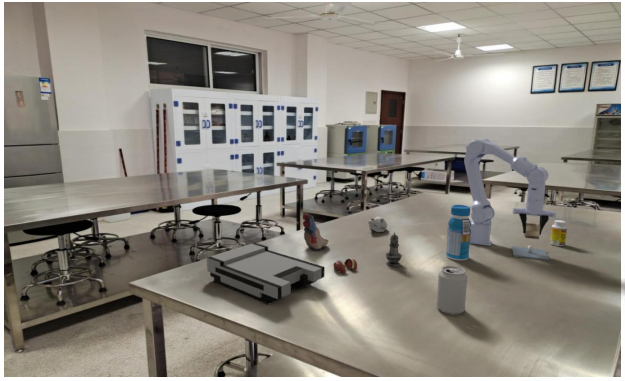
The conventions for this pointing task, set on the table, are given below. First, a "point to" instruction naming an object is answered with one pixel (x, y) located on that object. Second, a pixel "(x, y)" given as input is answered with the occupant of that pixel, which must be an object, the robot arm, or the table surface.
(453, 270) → the can
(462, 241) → the beverage bottle
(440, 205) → the table surface
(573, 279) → the table surface
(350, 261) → the pair of red halves
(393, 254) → the stone pagoda statue
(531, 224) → the sleeve
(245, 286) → the game console
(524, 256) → the pin plate
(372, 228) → the grey lumpy stone
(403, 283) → the table surface
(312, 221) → the rooster figurine
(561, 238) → the supplement bottle
